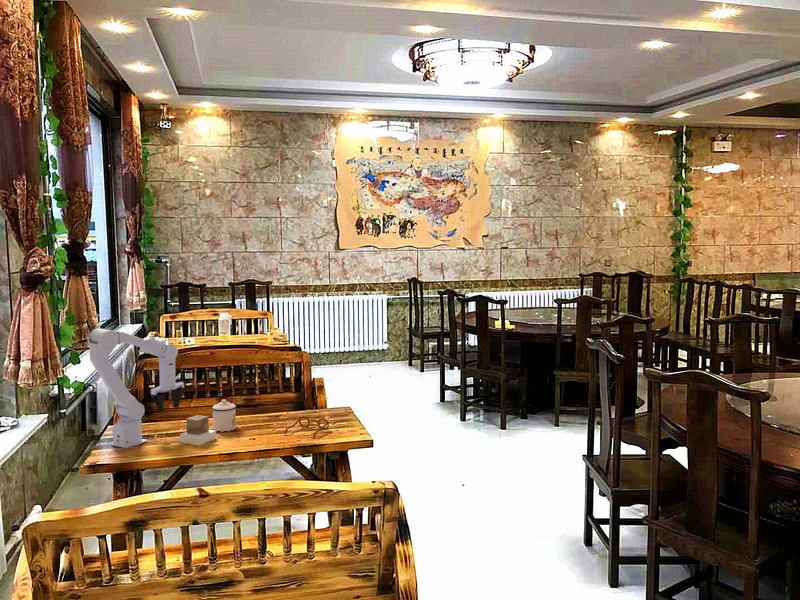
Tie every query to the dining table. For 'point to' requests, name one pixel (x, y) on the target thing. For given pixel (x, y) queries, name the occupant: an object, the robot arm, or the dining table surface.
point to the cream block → (198, 437)
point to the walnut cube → (197, 425)
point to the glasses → (309, 424)
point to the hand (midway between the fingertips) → (168, 409)
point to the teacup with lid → (224, 416)
